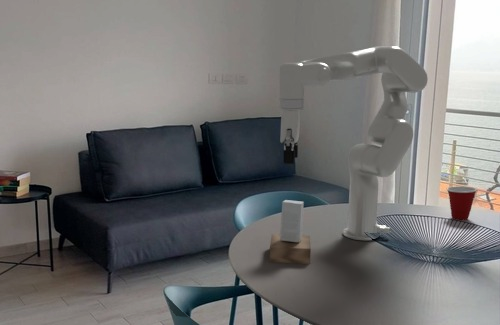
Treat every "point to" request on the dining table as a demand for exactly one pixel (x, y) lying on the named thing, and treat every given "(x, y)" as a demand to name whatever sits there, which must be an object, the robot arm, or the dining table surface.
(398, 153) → the robot arm
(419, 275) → the dining table surface
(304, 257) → the tan flat square block
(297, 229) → the skincare box
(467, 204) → the plastic cup
